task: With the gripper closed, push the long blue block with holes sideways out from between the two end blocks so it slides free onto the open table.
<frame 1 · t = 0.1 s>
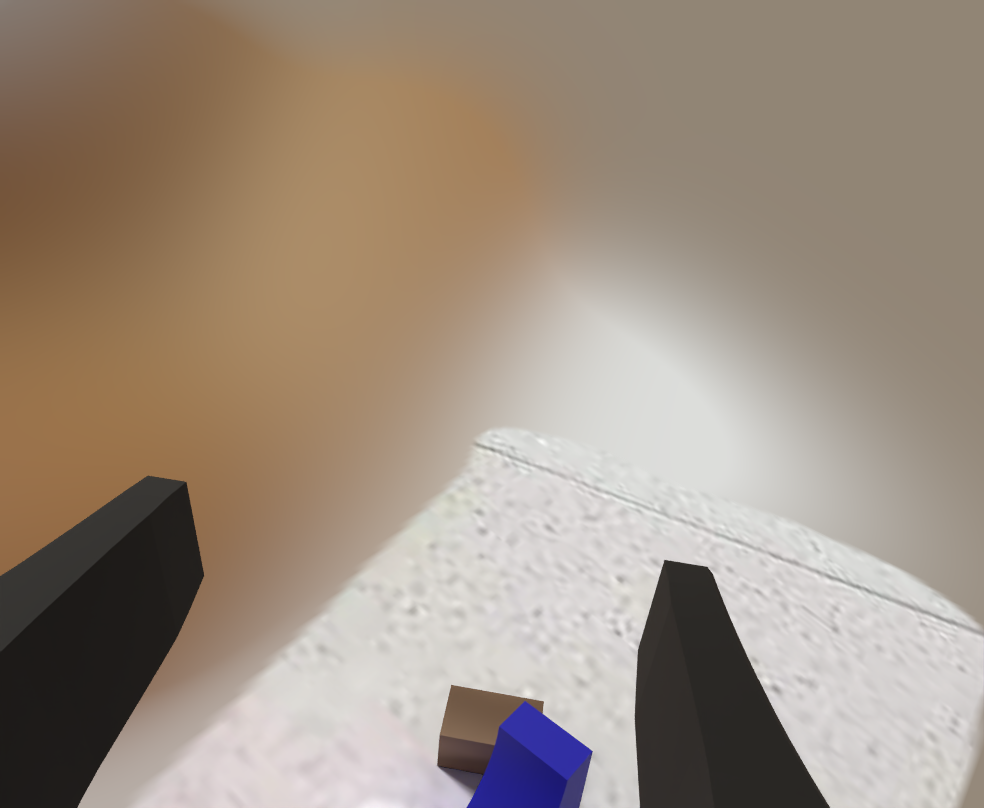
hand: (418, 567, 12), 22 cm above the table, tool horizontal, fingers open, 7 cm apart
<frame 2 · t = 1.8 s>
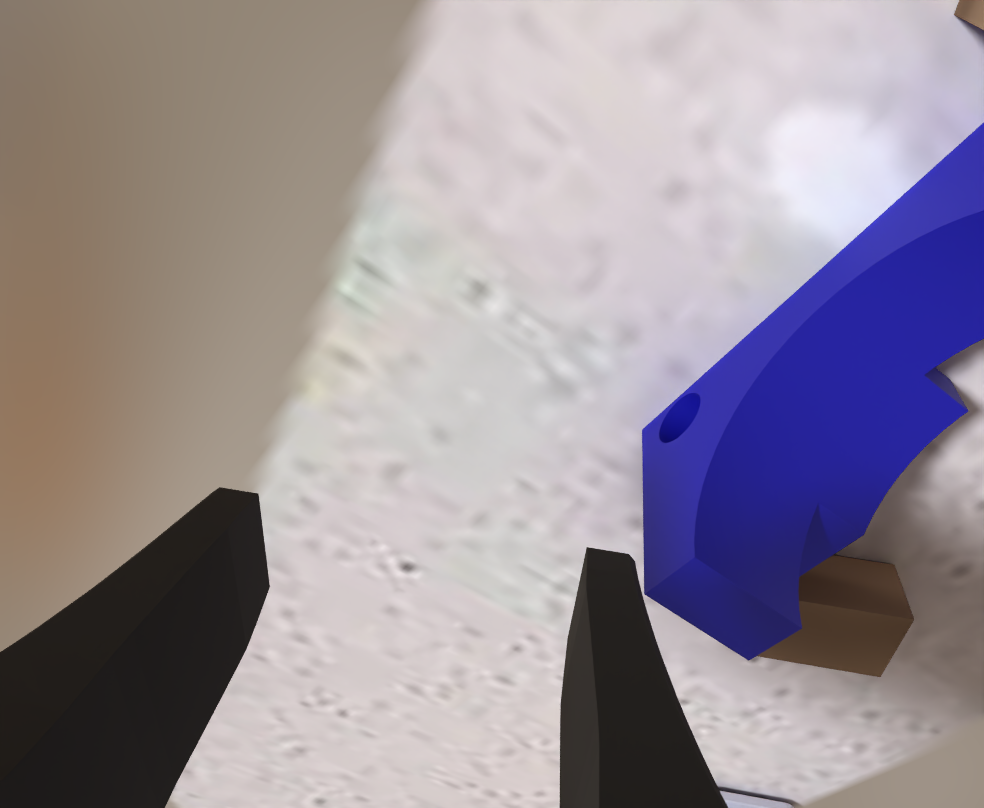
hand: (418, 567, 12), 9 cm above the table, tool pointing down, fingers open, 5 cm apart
blue block with holes: (881, 319, 19), on the table
end blocks: (917, 346, 19), on the table
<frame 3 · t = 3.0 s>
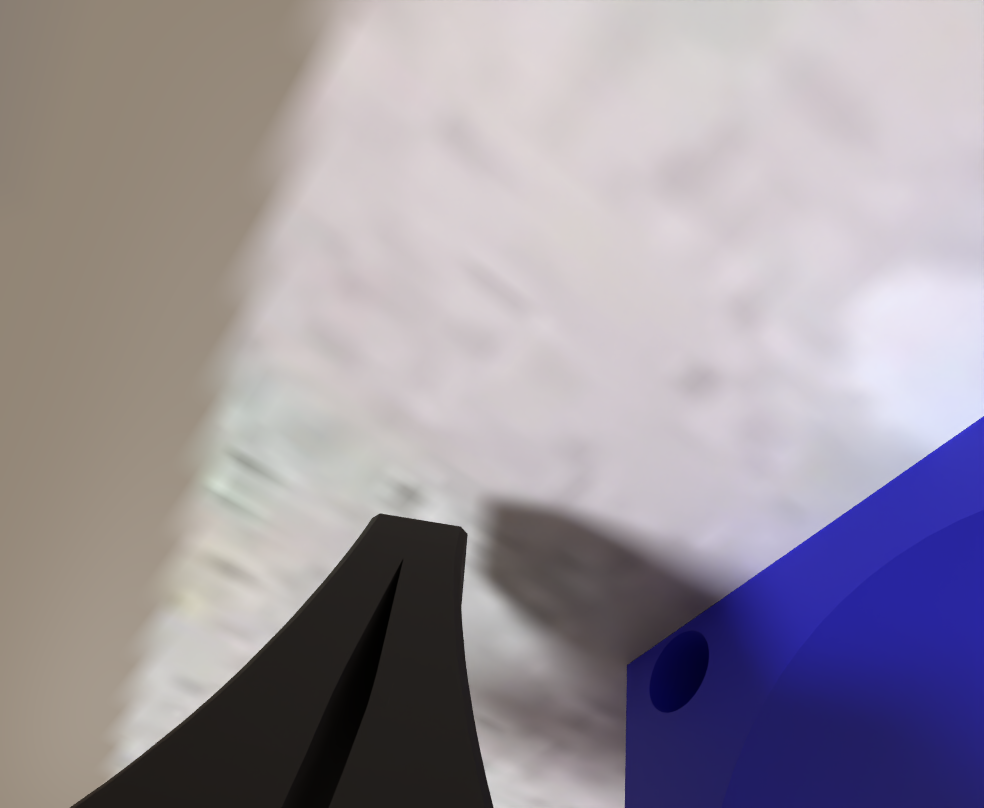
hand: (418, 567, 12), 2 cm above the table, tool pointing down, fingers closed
blue block with holes: (979, 541, 13), on the table
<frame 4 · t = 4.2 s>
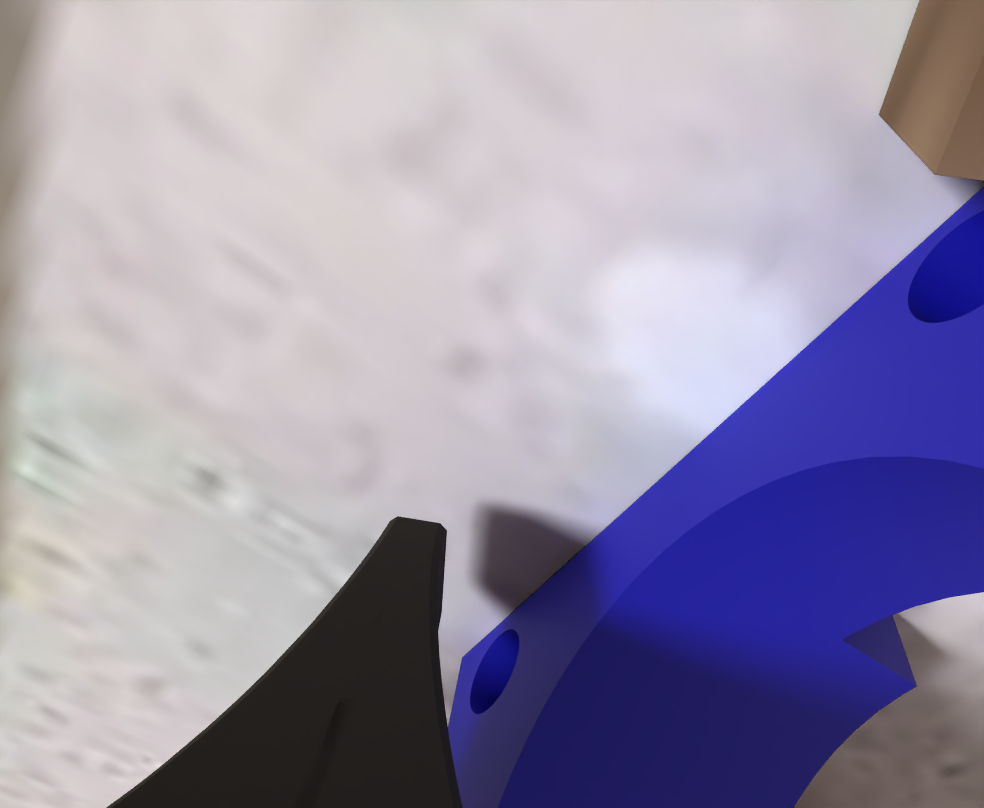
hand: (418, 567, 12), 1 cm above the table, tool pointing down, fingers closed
blue block with holes: (782, 531, 12), on the table, touching gripper
end blocks: (846, 582, 13), on the table
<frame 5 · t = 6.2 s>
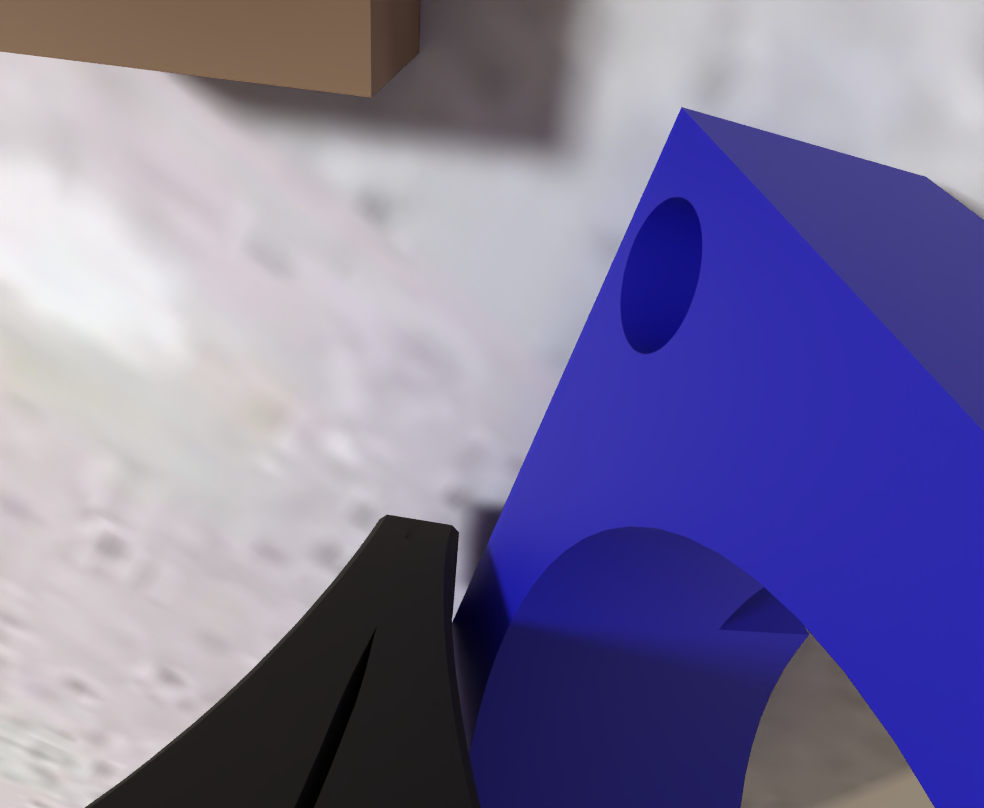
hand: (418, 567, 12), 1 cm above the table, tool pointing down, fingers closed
blue block with holes: (634, 530, 12), on the table, touching gripper
end blocks: (289, 489, 13), on the table
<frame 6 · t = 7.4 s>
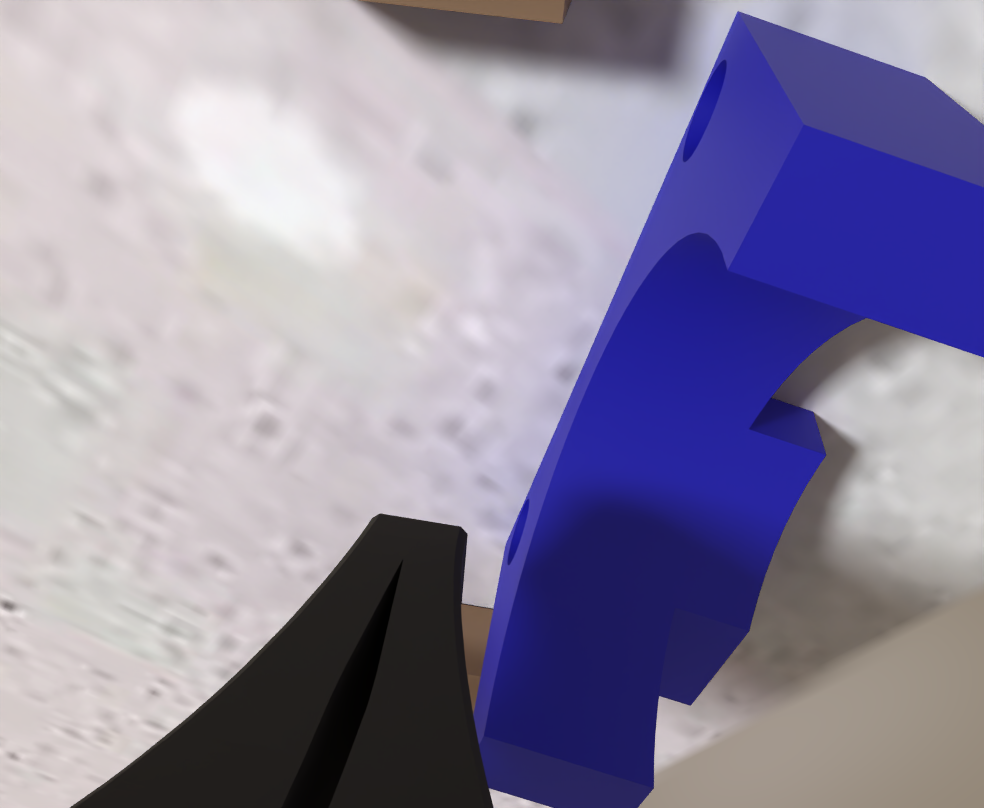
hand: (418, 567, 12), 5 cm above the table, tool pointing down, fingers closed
blue block with holes: (703, 366, 16), on the table
end blocks: (427, 368, 16), on the table
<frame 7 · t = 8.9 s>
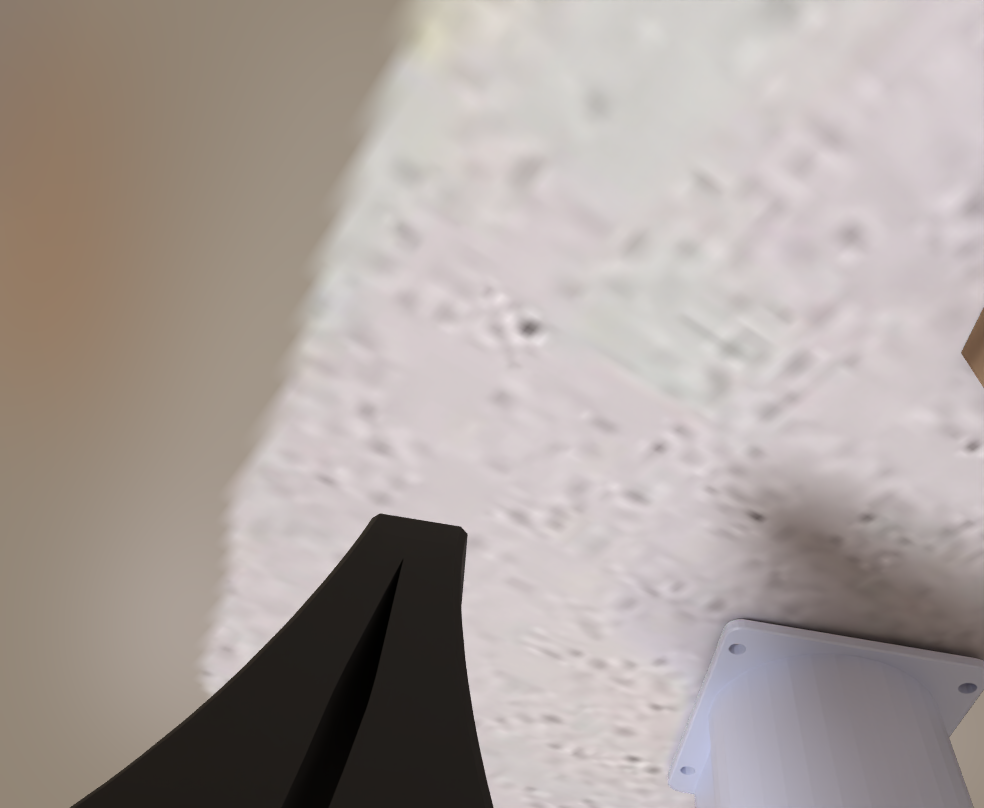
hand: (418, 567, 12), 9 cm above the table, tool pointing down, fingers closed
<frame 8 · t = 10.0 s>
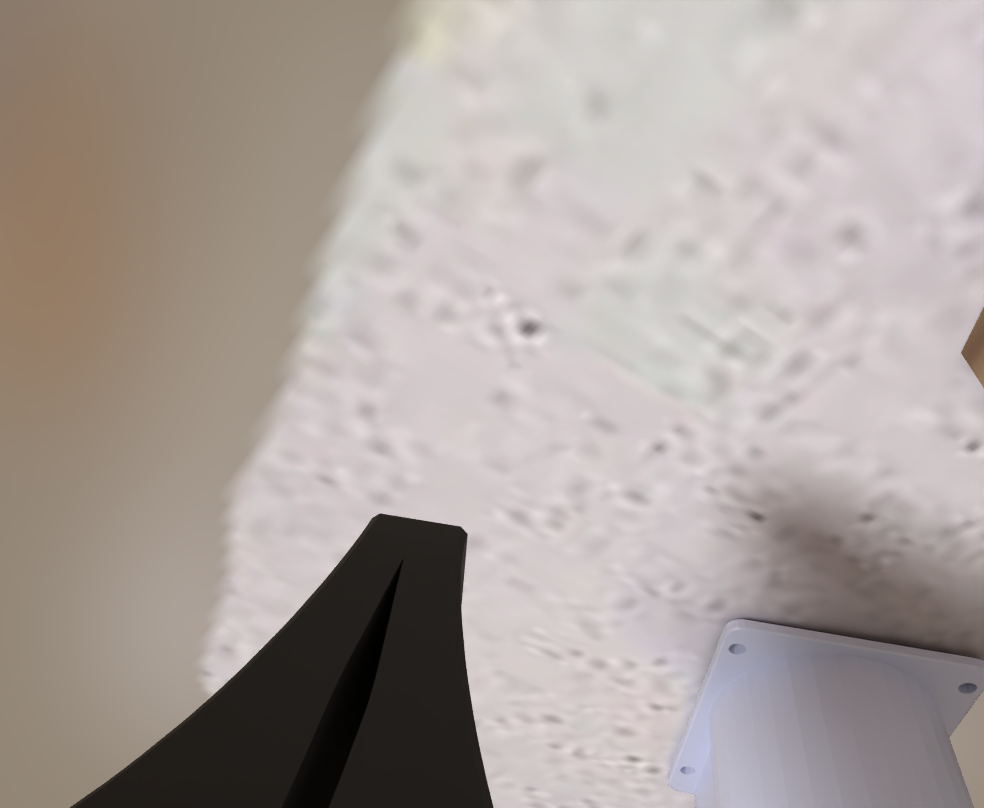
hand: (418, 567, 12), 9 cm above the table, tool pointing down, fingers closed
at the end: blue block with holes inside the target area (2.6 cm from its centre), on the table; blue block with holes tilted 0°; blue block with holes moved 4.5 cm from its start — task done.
